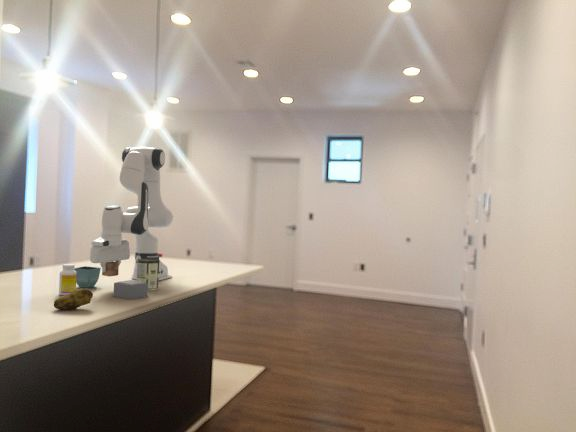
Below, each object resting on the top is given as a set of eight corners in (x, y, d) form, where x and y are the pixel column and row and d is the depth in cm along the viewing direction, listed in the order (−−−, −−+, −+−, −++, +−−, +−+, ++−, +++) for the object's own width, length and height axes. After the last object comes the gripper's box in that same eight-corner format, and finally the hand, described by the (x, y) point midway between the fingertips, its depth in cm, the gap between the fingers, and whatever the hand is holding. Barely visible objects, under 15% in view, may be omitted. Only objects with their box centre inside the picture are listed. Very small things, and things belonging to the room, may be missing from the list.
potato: (58, 306, 187) (59, 285, 187) (93, 307, 189) (94, 286, 189) (51, 311, 179) (52, 289, 179) (88, 312, 181) (89, 290, 181)
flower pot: (89, 289, 227) (90, 269, 227) (72, 287, 228) (73, 268, 228) (100, 286, 235) (101, 267, 235) (83, 284, 237) (84, 266, 237)
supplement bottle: (78, 295, 211) (79, 265, 211) (62, 296, 207) (63, 266, 206) (71, 292, 216) (73, 263, 216) (56, 293, 211) (57, 264, 211)
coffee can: (144, 286, 241) (145, 257, 241) (162, 288, 238) (163, 259, 238) (131, 289, 232) (132, 259, 231) (149, 291, 228) (151, 261, 228)
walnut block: (110, 273, 229) (111, 261, 229) (118, 275, 226) (118, 262, 226) (102, 275, 225) (102, 262, 224) (109, 276, 222) (110, 263, 222)
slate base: (130, 293, 221) (131, 279, 221) (147, 296, 216) (148, 282, 216) (113, 296, 212) (114, 281, 212) (130, 299, 207) (130, 284, 207)
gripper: (124, 239, 235) (123, 267, 236) (88, 241, 217) (87, 272, 218) (133, 240, 232) (132, 269, 233) (98, 243, 214) (97, 274, 215)
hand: (110, 270), depth 225 cm, fingers closed on walnut block, 5 cm apart
